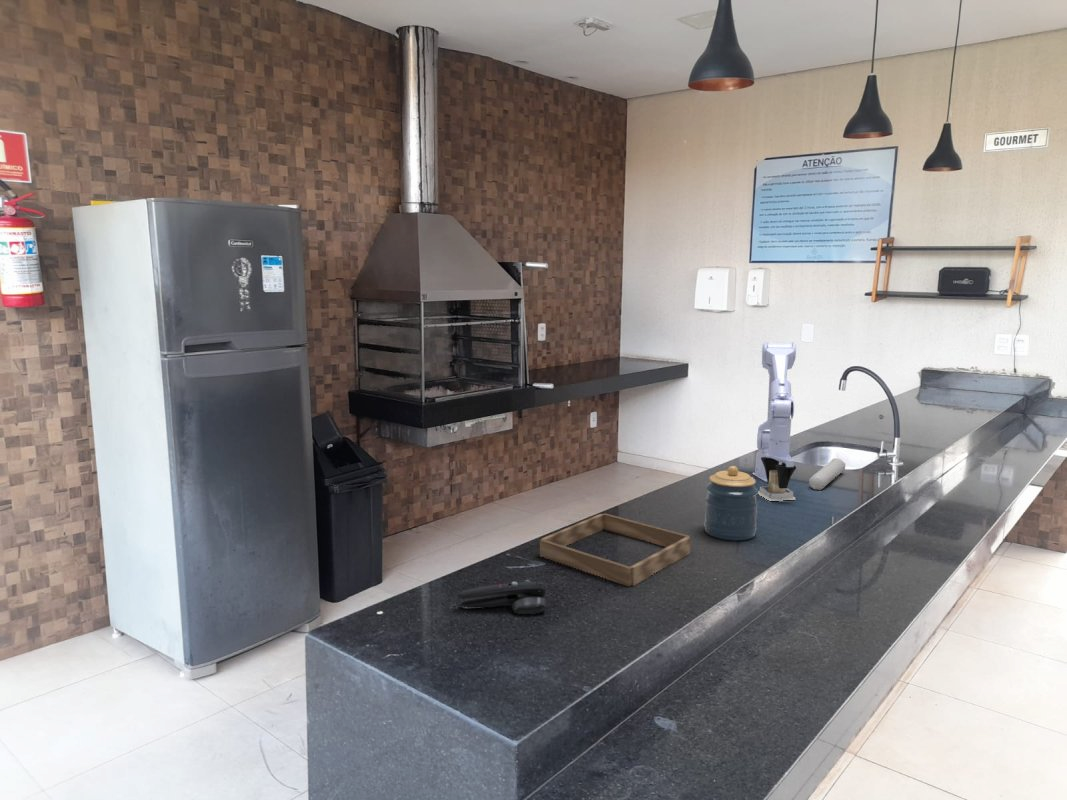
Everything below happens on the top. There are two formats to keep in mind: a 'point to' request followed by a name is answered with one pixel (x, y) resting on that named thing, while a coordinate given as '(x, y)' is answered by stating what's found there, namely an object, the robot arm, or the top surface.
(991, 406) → the top surface
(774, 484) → the wooden block
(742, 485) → the canister
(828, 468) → the tube
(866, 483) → the top surface
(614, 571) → the wooden frame
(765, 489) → the white square tray
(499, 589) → the can opener
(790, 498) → the tile
